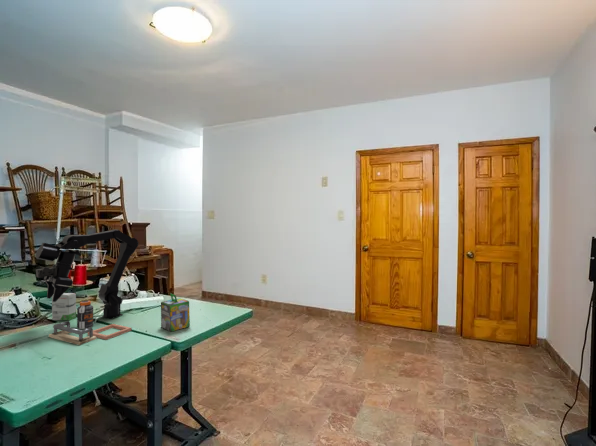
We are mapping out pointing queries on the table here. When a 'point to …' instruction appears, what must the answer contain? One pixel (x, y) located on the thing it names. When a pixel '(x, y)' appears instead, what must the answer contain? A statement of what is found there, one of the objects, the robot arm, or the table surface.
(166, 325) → the chalk box
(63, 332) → the wire base
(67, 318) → the ink box
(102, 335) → the frame
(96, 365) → the table surface
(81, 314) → the pill bottle
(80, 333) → the bent wire
